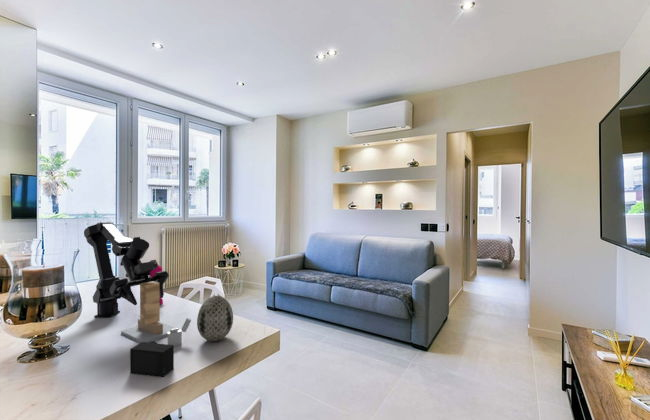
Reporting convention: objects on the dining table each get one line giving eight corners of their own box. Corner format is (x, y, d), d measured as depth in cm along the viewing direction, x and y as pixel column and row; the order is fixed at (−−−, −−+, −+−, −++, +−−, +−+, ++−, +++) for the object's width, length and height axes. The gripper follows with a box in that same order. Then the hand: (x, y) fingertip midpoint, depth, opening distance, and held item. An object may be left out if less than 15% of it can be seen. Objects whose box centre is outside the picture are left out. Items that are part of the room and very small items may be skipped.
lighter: (167, 347, 96) (167, 322, 96) (167, 344, 98) (167, 320, 98) (191, 342, 100) (191, 318, 100) (190, 340, 101) (190, 317, 101)
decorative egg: (189, 344, 98) (188, 299, 98) (214, 330, 109) (214, 290, 109) (217, 350, 94) (216, 303, 94) (240, 335, 105) (240, 293, 105)
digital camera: (177, 366, 85) (177, 342, 85) (163, 377, 79) (163, 351, 79) (145, 363, 86) (145, 339, 86) (130, 373, 81) (130, 348, 81)
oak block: (140, 322, 106) (139, 283, 106) (153, 318, 110) (152, 281, 110) (146, 325, 104) (146, 285, 104) (159, 321, 108) (159, 282, 108)
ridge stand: (121, 333, 106) (121, 322, 106) (154, 322, 116) (154, 312, 116) (144, 344, 98) (144, 332, 98) (178, 331, 108) (178, 320, 108)
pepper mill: (167, 301, 142) (167, 260, 142) (157, 306, 135) (157, 263, 134) (153, 301, 143) (152, 260, 142) (142, 306, 135) (142, 263, 135)
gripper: (113, 257, 102) (129, 294, 96) (166, 250, 118) (183, 281, 112) (103, 277, 106) (118, 313, 100) (155, 267, 122) (171, 299, 116)
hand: (149, 300), depth 107 cm, fingers open, 9 cm apart
